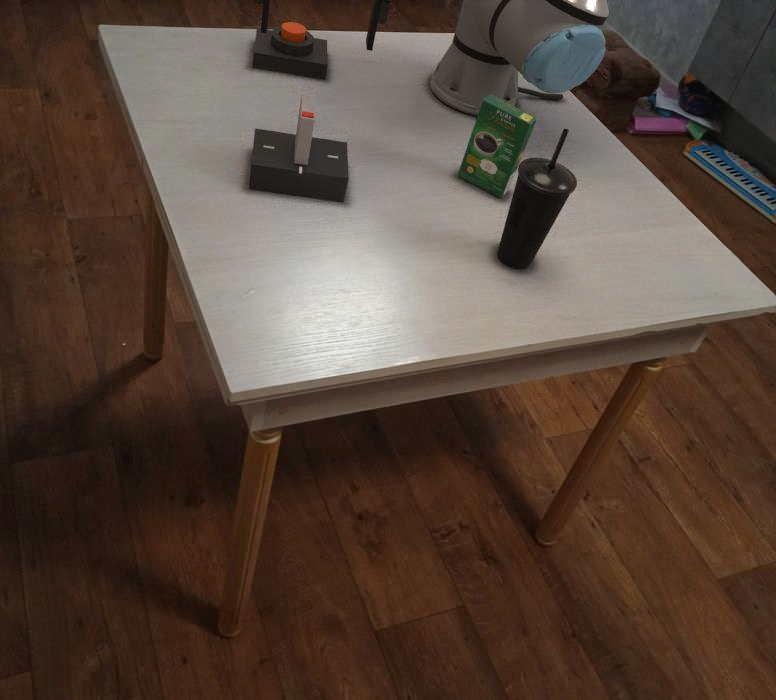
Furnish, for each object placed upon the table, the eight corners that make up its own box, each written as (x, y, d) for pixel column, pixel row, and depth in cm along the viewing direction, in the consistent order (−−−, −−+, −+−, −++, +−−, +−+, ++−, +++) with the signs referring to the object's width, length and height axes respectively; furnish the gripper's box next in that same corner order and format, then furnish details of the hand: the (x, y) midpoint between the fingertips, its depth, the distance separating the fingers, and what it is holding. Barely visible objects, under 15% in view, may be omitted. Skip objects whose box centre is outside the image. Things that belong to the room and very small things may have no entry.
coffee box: (510, 193, 125) (539, 115, 115) (502, 200, 123) (531, 122, 113) (465, 169, 127) (489, 91, 117) (456, 176, 125) (480, 98, 116)
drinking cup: (539, 283, 110) (596, 154, 96) (484, 266, 110) (533, 136, 96) (542, 250, 116) (597, 124, 102) (490, 234, 116) (537, 106, 102)
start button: (305, 34, 138) (306, 24, 137) (304, 45, 135) (306, 35, 134) (281, 30, 137) (282, 20, 136) (280, 41, 135) (281, 30, 133)
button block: (324, 54, 144) (328, 29, 140) (325, 79, 137) (329, 54, 134) (255, 42, 141) (257, 17, 138) (252, 67, 135) (254, 41, 132)
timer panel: (342, 163, 121) (347, 138, 118) (343, 205, 114) (348, 179, 111) (252, 150, 118) (255, 124, 115) (248, 191, 111) (251, 165, 108)
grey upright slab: (295, 139, 115) (301, 92, 110) (307, 141, 115) (315, 94, 110) (294, 163, 111) (301, 115, 106) (307, 165, 111) (315, 117, 106)
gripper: (226, -159, 87) (216, 34, 102) (454, -113, 91) (413, 66, 106) (231, -179, 92) (221, 7, 107) (447, -134, 97) (409, 39, 111)
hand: (317, 37), depth 107 cm, fingers open, 13 cm apart
